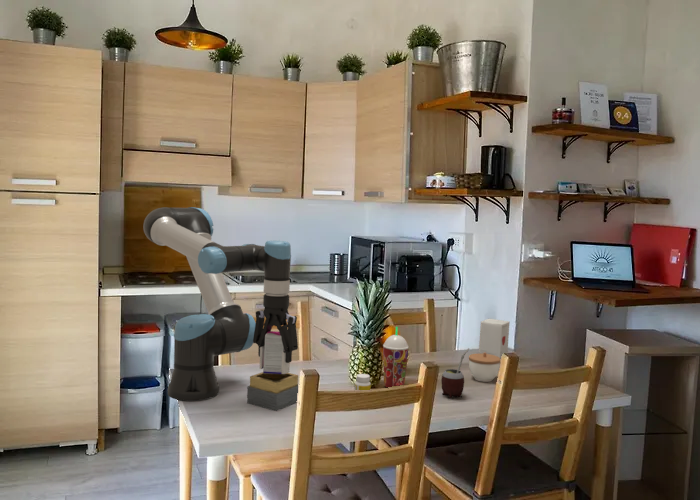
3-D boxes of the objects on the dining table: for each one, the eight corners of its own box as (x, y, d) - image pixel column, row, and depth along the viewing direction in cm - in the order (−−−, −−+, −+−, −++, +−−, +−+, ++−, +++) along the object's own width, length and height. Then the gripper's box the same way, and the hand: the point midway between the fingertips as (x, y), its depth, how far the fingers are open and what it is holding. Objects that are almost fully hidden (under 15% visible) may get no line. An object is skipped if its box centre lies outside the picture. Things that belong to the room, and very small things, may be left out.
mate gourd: (438, 397, 197) (440, 350, 195) (444, 390, 204) (446, 345, 203) (462, 401, 194) (464, 353, 193) (467, 394, 201) (469, 348, 200)
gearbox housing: (247, 402, 185) (247, 376, 184) (271, 393, 194) (271, 368, 194) (276, 411, 179) (277, 383, 178) (299, 401, 188) (300, 375, 188)
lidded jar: (464, 380, 216) (466, 354, 215) (471, 373, 226) (472, 347, 225) (496, 385, 212) (498, 358, 211) (501, 377, 222) (502, 351, 221)
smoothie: (407, 391, 202) (410, 330, 200) (381, 390, 202) (384, 329, 200) (406, 383, 210) (408, 324, 208) (380, 382, 210) (383, 323, 208)
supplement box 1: (283, 374, 183) (284, 335, 182) (262, 373, 183) (263, 334, 182) (285, 368, 189) (286, 331, 188) (265, 368, 189) (266, 330, 188)
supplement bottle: (373, 403, 189) (374, 376, 188) (362, 406, 186) (363, 378, 185) (361, 399, 192) (362, 372, 192) (350, 402, 189) (352, 375, 188)
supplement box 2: (499, 363, 241) (502, 324, 239) (477, 359, 245) (479, 321, 244) (507, 358, 248) (510, 321, 247) (486, 354, 253) (488, 317, 252)
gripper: (312, 296, 181) (309, 374, 184) (258, 288, 192) (256, 361, 195) (296, 299, 175) (294, 380, 177) (241, 291, 186) (239, 366, 188)
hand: (274, 370), depth 186 cm, fingers closed on supplement box 1, 8 cm apart
